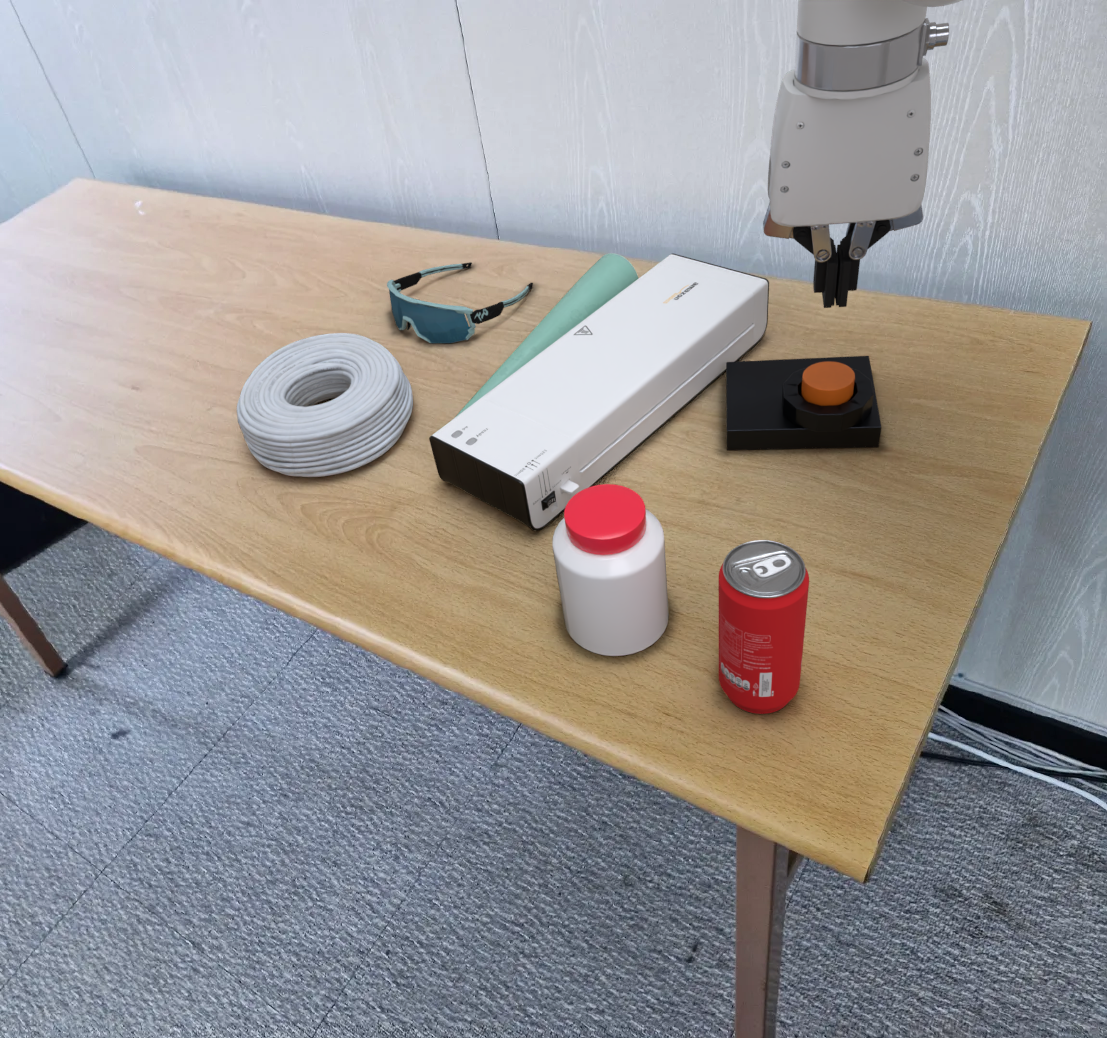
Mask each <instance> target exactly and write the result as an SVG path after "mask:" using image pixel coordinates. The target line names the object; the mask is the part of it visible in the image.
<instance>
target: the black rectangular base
mask: <svg viewBox="0 0 1107 1038" xmlns="http://www.w3.org/2000/svg"><path fill="white" fill-rule="evenodd" d="M827 361H831V362H839V363H842V364H845V365H847V366H849V367H850V368H851V369H852V370H853V371H854V373H855V382H854V390H853V395H852V397H851V399H850V400H849V401H847V402H845V403H843V404H840V405H833V406H820V405H817V404H813V403H810V402H807V401H806V400H805V399H804V398H803V396H802V393H801V390H802V376H803V372H804V371H805V369H806V368H808V367H809V366H811V365H813V364H816V363H819V362H827ZM725 405H726V406H725V407H726V408H725V411H726V413H725V414H726V415H725V418H726V419H725V420H726V421H725V423H726V425H725V428H726V430H725V431H726V433H725V434H726V439H725V440H726V441H725V442H726V443H725V444H726V451H754V450H755V451H758V450H761V451H762V450H805V449H806V450H810V449H811V450H812V449H814V450H815V449H858V448H859V449H862V448H863V449H864V448H865V449H866V448H879V447H880V441H881V433H882V422H881V417H880V411H879V405H878V399H877V393H876V388H875V383H874V377H873V371H872V364H871V359H870V356H869V355H850V356H849V355H848V356H832V357H831V356H830V357H829V356H828V357H805V358H787V359H786V358H785V359H765V360H764V359H762V360H743V361H742V360H741V361H740V360H738V361H737V362H727V363H726V371H725Z"/></svg>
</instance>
